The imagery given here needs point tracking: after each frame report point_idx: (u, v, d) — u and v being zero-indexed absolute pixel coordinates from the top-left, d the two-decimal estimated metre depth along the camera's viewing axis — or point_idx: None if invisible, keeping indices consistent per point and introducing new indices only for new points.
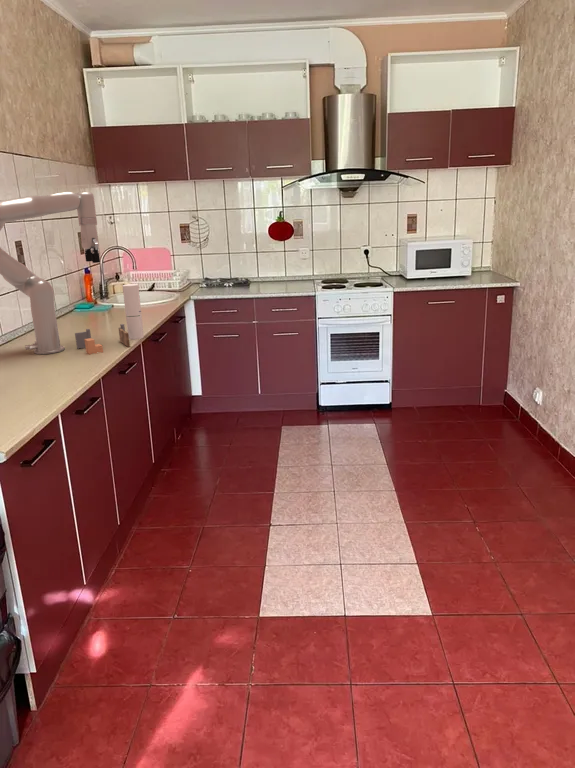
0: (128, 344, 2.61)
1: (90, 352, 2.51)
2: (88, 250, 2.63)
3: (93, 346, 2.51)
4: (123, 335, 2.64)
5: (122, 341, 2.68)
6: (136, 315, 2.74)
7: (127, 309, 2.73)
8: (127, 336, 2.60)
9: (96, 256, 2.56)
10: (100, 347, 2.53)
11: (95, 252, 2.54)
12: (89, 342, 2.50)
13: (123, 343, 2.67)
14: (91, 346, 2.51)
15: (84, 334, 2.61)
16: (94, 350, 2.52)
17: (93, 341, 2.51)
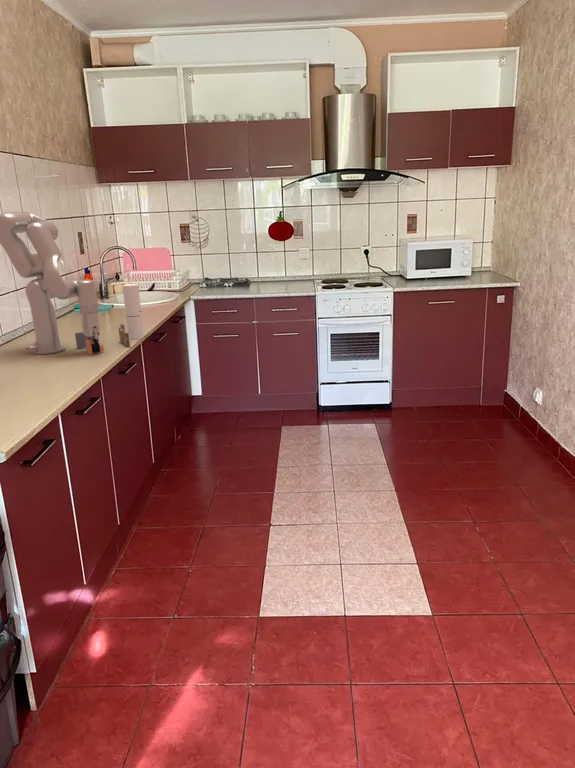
0: (128, 344, 2.61)
1: (91, 352, 2.51)
2: (91, 338, 2.55)
3: None
4: (123, 335, 2.64)
5: (122, 341, 2.68)
6: (136, 315, 2.74)
7: (127, 309, 2.73)
8: (127, 336, 2.60)
9: (96, 346, 2.51)
10: (101, 347, 2.53)
11: (95, 343, 2.50)
12: (90, 342, 2.50)
13: (123, 343, 2.67)
14: None
15: None
16: None
17: None
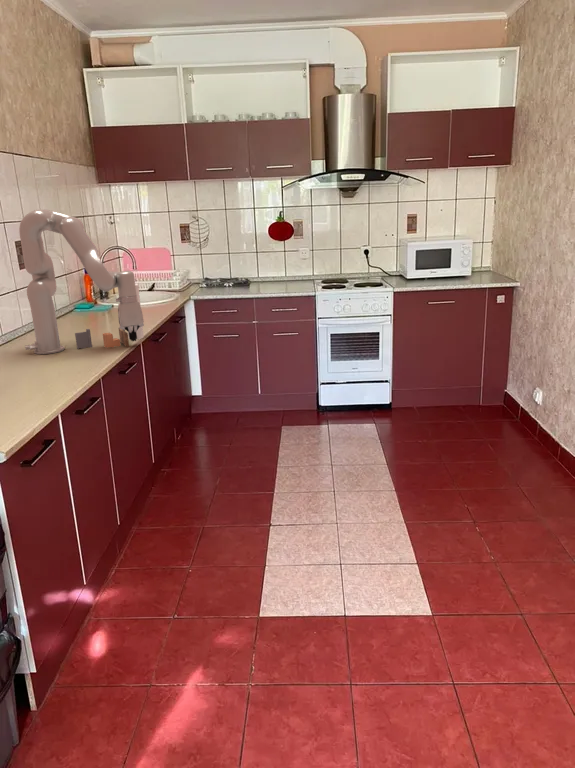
0: (127, 344, 2.61)
1: (108, 346, 2.61)
2: None
3: (111, 340, 2.61)
4: (123, 335, 2.64)
5: (122, 341, 2.68)
6: None
7: None
8: (126, 336, 2.60)
9: None
10: (118, 341, 2.63)
11: None
12: (107, 336, 2.60)
13: (123, 343, 2.67)
14: (109, 340, 2.61)
15: (84, 334, 2.61)
16: (112, 344, 2.62)
17: (111, 335, 2.61)
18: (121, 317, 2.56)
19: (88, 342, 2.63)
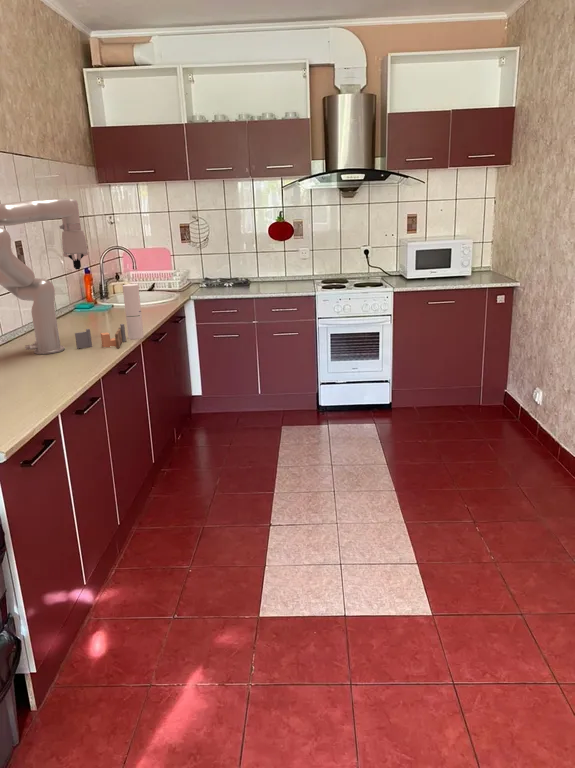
0: (117, 345, 2.59)
1: (105, 346, 2.62)
2: None
3: (108, 340, 2.62)
4: None
5: None
6: (136, 315, 2.74)
7: (127, 309, 2.73)
8: (116, 337, 2.58)
9: None
10: (115, 341, 2.63)
11: None
12: (104, 336, 2.60)
13: None
14: (106, 340, 2.61)
15: (84, 334, 2.61)
16: (109, 344, 2.62)
17: (108, 335, 2.61)
18: (64, 244, 2.62)
19: (88, 342, 2.63)
